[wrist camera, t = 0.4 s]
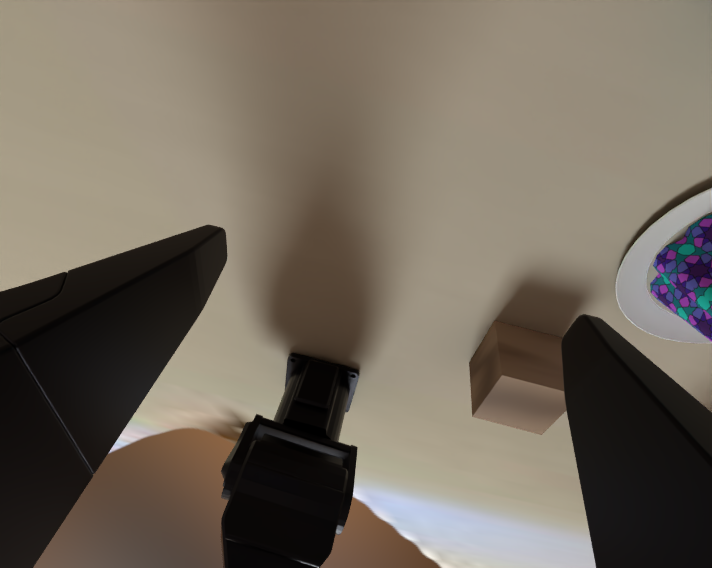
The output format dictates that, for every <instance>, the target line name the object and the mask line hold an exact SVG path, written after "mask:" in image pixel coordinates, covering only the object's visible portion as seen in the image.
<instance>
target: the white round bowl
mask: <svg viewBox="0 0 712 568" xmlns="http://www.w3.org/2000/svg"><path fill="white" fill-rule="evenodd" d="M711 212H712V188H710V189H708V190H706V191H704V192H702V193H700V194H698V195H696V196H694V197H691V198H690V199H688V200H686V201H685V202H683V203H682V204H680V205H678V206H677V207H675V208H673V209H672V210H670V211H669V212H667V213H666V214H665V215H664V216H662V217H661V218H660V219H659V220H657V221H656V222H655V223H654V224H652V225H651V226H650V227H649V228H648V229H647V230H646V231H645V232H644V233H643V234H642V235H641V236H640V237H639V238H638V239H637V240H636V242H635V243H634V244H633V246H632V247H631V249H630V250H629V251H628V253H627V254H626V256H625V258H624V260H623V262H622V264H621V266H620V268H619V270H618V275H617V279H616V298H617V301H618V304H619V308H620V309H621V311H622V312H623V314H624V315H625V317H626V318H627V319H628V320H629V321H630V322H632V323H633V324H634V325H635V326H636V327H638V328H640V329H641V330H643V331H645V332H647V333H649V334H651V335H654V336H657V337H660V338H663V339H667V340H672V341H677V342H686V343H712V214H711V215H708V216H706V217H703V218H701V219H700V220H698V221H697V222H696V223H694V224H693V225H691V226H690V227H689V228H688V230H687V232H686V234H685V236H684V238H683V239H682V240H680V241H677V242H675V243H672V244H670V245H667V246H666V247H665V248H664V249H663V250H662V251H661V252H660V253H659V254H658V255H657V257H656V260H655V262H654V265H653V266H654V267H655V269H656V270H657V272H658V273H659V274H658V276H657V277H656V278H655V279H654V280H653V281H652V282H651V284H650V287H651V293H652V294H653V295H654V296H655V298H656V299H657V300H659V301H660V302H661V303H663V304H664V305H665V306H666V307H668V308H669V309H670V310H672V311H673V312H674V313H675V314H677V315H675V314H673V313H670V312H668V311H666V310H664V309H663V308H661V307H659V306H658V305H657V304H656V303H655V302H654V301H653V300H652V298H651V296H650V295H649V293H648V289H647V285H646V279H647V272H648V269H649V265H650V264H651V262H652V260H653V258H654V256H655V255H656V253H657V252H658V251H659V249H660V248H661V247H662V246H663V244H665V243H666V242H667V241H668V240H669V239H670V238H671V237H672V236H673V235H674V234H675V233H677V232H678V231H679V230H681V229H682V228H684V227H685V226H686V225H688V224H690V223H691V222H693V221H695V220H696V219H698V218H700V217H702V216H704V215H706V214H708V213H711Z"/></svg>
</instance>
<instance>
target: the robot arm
mask: <svg viewBox="0 0 712 568" xmlns="http://www.w3.org/2000/svg"><path fill="white" fill-rule="evenodd" d="M226 261H227V243H226V232H225V230H224V229H223V228H221V227H217V226H213V225H205V226H202V227H199V228H196V229H193V230H190V231H187V232H184V233H181V234H178V235H175V236H172V237H169V238H166V239H163V240H160V241H157V242H154V243H151V244H148V245H145V246H141V247H138V248H135V249H132V250H129V251H126V252H123V253H120V254H117V255H114V256H111V257H108V258H105V259H102V260H99V261H96V262H93V263H90V264H87V265H84V266H81V267H78V268H75V269H72V270H69V271H68V273H67V272H62V273H59V274H56V275H53V276H50V277H47V278H44V279H41V280H38V281H35V282H32V283H28V284H25V285H22V286H19V287H15V288H12V289H8V290H5V291H1V292H0V568H33V567H34V565H35V564H36V562H37V560H38V559H39V558H40V556H41V555H42V553H43V551H44V550H45V548H46V547H47V545H48V544H49V542H50V541H51V539H52V538H53V536H54V535H55V533H56V532H57V530H58V529H59V527H60V526H61V524H62V523H63V521H64V520H65V518H66V516H67V515H68V514H69V512H70V511H71V509H72V508H73V506H74V505H75V503H76V502H77V500H78V498H79V497H80V495H81V494H82V492H83V491H84V489H85V488H86V486H87V485H88V483H89V482H90V480H91V479H92V477H93V474H94V473H95V472H96V471H97V469H98V468H99V466H100V464H101V463H102V462H103V460H104V459H105V457H106V456H107V454H108V453H109V451H110V450H111V448H112V447H113V445H114V444H115V442H116V440H117V439H118V437H119V436H120V434H121V433H122V431H123V430H124V428H125V427H126V425H127V424H128V422H129V421H130V419H131V418H132V416H133V415H134V413H135V412H136V410H137V409H138V407H139V406H140V404H141V403H142V401H143V400H144V398H145V397H146V395H147V394H148V392H149V391H150V389H151V387H152V386H153V384H154V383H155V381H156V380H157V378H158V377H159V375H160V374H161V372H162V371H163V369H164V368H165V366H166V365H167V363H168V362H169V360H170V359H171V357H172V356H173V354H174V353H175V351H176V350H177V348H178V347H179V345H180V344H181V342H182V341H183V339H184V338H185V336H186V334H187V333H188V331H189V330H190V328H191V327H192V325H193V324H194V322H195V321H196V319H197V318H198V316H199V315H200V313H201V311H202V310H203V308H204V306H205V304H206V302H207V300H208V298H209V296H210V294H211V292H212V290H213V288H214V286H215V284H216V282H217V280H218V278H219V276H220V274H221V272H222V270H223V268H224V266H225V264H226ZM561 352H562V368H563V383H564V396H565V403H566V410H567V415H568V420H569V425H570V431H571V436H572V441H573V447H574V452H575V457H576V463H577V468H578V473H579V479H580V484H581V489H582V494H583V500H584V505H585V510H586V516H587V521H588V526H589V532H590V537H591V542H592V548H593V553H594V558H595V563H596V568H712V412H710V411H709V410H708V409H707V408H706V407H705V406H703V405H702V404H701V403H700V402H699V401H698V400H696V399H695V398H694V397H693V396H692V395H690V394H689V393H688V392H687V391H686V390H685V389H683V388H682V387H681V386H680V385H679V384H677V383H676V382H675V381H674V380H673V379H672V378H670V377H669V376H668V375H667V374H666V373H665V372H663V371H662V370H661V369H660V368H659V367H657V366H656V365H655V364H654V363H653V362H652V361H650V360H649V359H648V358H647V357H646V356H644V355H643V354H642V353H641V352H640V351H639V350H637V349H636V348H635V347H634V346H633V345H632V344H630V343H629V342H628V341H627V340H626V339H624V338H623V337H622V336H621V335H620V334H619V333H617V332H616V331H615V330H614V329H613V328H612V327H610V326H609V325H608V324H607V323H606V322H604V321H603V320H602V319H601V318H598V317H594V316H590V315H586V314H583V315H580V316H579V317H578V318H577V319H576V320H575V321H574V323H573V324H572V326H571V327H570V328H569V330H568V331H567V332H566V334H565V335H564V337H563V339H562V342H561ZM358 378H359V371H358V370H356V369H352V368H348V367H344V366H341V365H337V364H333V363H329V362H325V361H322V360H318V359H314V358H310V357H306V356H303V355H299V354H295V353H291V354H290V355H289V357H288V362H287V373H286V384H285V392H284V395H283V397H282V400H281V402H280V405H279V407H278V410H277V413H276V415H275V418H274V420H270V419H266V418H263V416H261V415H258V414H256V416H255V418H254V420H253V421H252V422H247V423H246V424H245V426H244V428H243V431H242V433H241V435H240V437H239V439H238V441H237V443H236V445H235V446H234V448H233V450H232V452H231V453H230V455H229V456H228V458H227V460H226V461H225V463H224V465H223V467H222V470H221V472H222V475H223V478H224V483H223V486H224V488H223V492H222V496H221V498H224V499H227V500H229V501H228V503H227V506H226V508H225V511H224V513H223V516H222V522H221V548H222V560H223V568H320V566H321V565H322V564H323V563H324V561H325V560H326V559H327V558H328V556H329V555H330V553H331V550H332V546H333V542H334V538H335V534H337V535H339V534H341V532H342V530H343V528H344V525H345V523H346V520H347V517H348V514H349V510H350V506H351V501H352V496H353V489H354V478H355V468H356V457H357V447H356V446H353V445H351V446H349V445H346V444H343V443H340V442H338V441H339V436H340V432H341V428H342V423H343V419H344V415H345V412H348V411H349V408H350V405H351V402H352V398H353V395H354V392H355V388H356V385H357V382H358Z"/></svg>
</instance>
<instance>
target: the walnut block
mask: <svg viewBox="0 0 712 568" xmlns="http://www.w3.org/2000/svg"><path fill="white" fill-rule="evenodd" d="M562 339H563V338H561V337H557V336H553V335H549V334H545V333H541V332H537V331H533V330H529V329H525V328H522V327H518V326H514V325H510V324H506V323H502V322H498V321H494V322H493V324H492V326H491V327H490V329H489V331H488V332H487V334H486V336H485V337H484V339H483V341H482V342H481V344H480V346H479V347H478V349H477V351H476V352H475V354H474V356H473V357H472V359H471V361H470V362H469V366H470V383H471V400H472V417H476V418H479V419H483V420H487V421H491V422H494V423H498V424H502V425H506V426H510V427H513V428H517V429H521V430H525V431H528V432H532V433H536V434H540V435H542V434H543V433H544V432H545V431H546V430H547V429H548V428H549V427H550V426H551V425H552V424H553V423H554V422H555V421H556V420H557V419H558V418H559V417H560V416H561V415H562V414H563V413H564V412H565V411H566V403H565V396H564V383H563V368H562V352H561V342H562Z"/></svg>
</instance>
